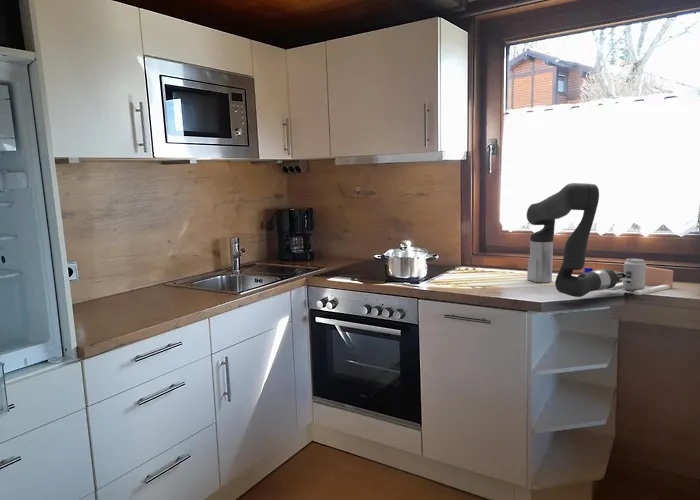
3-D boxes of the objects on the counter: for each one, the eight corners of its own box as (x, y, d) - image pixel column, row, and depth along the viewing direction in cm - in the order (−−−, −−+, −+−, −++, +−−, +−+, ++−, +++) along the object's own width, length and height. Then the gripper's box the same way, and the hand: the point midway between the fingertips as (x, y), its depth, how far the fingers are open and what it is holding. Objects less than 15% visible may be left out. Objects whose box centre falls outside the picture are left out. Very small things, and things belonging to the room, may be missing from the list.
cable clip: (579, 281, 222) (580, 267, 222) (591, 281, 222) (591, 267, 221) (587, 287, 211) (588, 272, 210) (599, 287, 210) (600, 272, 209)
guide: (639, 295, 195) (640, 276, 194) (607, 288, 206) (608, 271, 205) (672, 287, 206) (673, 270, 205) (640, 282, 217) (641, 265, 216)
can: (624, 290, 201) (626, 260, 200) (620, 287, 208) (622, 257, 207) (646, 291, 199) (648, 260, 198) (641, 288, 206) (643, 258, 205)
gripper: (617, 272, 186) (646, 267, 195) (585, 267, 198) (613, 262, 206) (616, 292, 187) (645, 286, 196) (584, 286, 199) (613, 281, 207)
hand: (629, 274), depth 201 cm, fingers closed
